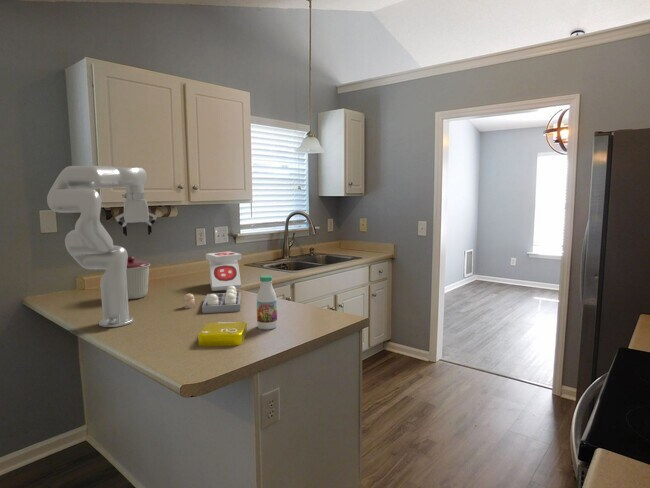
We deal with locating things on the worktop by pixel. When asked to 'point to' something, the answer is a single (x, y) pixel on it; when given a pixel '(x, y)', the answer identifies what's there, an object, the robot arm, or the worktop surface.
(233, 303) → the egg carton
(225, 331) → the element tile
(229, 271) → the pizza boxes
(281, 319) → the worktop surface
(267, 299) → the milk bottle
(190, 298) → the brown egg
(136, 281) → the canister
